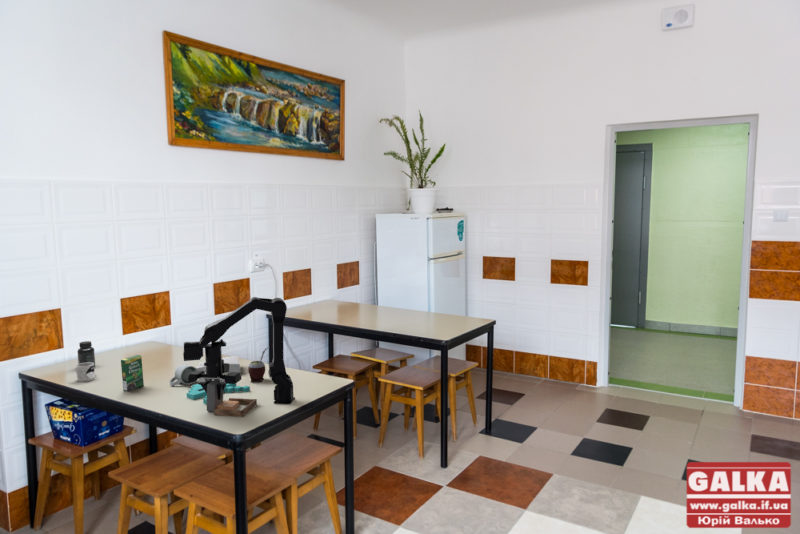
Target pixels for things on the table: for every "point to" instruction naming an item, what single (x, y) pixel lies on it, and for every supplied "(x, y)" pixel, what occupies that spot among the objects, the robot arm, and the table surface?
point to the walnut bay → (241, 413)
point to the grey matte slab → (213, 396)
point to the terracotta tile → (228, 405)
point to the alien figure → (200, 392)
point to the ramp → (230, 360)
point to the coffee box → (132, 373)
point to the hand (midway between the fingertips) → (215, 399)
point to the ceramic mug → (182, 375)
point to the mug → (85, 372)
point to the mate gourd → (257, 369)
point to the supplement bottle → (86, 353)
